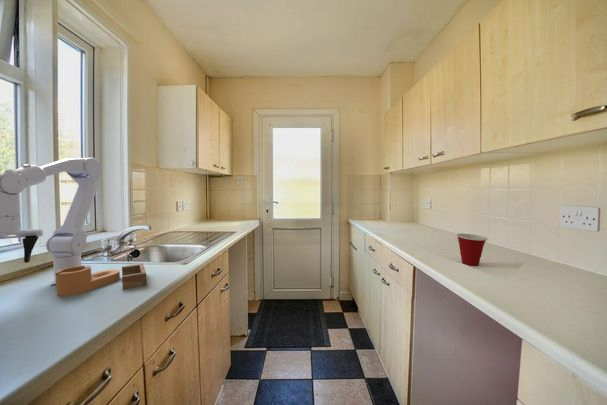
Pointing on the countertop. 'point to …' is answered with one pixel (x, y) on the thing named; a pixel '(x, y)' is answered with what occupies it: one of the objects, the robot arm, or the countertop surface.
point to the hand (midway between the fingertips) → (8, 264)
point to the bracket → (82, 279)
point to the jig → (133, 276)
